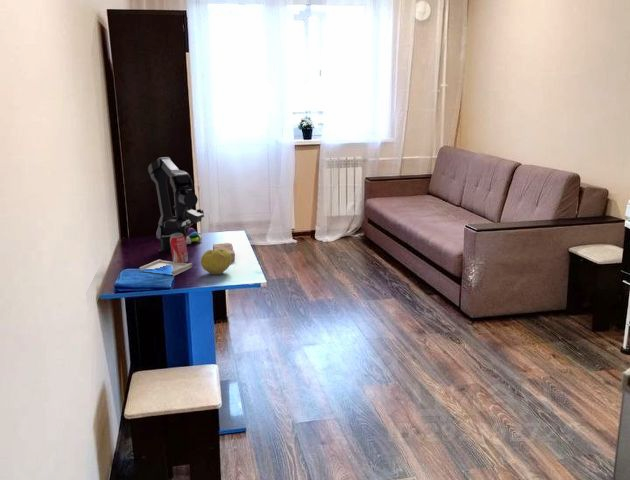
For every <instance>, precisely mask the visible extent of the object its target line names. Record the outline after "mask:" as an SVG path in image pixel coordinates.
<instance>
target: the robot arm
mask: <svg viewBox="0 0 630 480" xmlns="http://www.w3.org/2000/svg"><path fill="white" fill-rule="evenodd" d="M147 170H148V171H147V172H148V173H149V176H150V179H151V181H153V182H154V184H155V189H156V194H157V199H158V206H159V212H160V213H159V214H160V217H159V219H158V220H159V221H158V223H157V224H158V226H157V230H156V233H155V235H156V239H158V240H159V244H160V245H159V247H160V248H159V250H157V251H158V252H159V253H166V254H172V251H171V245H170V237H171V235H172V234H174V233H183V235H184V236H185V239H186V238H187V234H188V230H189V228H191V226H193V225H194V224H197V223H200V222H202V219H203V218H205V215H204V214H205V213H204V209H202V208H197V209H193V208H194V207H195V206H196V205H197V204H198V200H199V199H198V196H197V194H196V193H194V192H193V190H194V189H195V188H194V187H195V185H194V181H193V180H192V178H191V176H190V174H189V173H188V172H186V171H185V170H181V169H179V167H177V165H176V164H175V163H174V162H173V161H172V159H171V157H169V156H163V157H158V158H157V159H156V160H154V161H152V162H150V164H149V165H148V168H147ZM168 179H169V184H170V185H171V188H172V192H173V199H174V200H173V201H174V206H172V207H171V201H170V197H169V196H170V195H169V190H168V183H167V182H168ZM172 210H174V212H175V216H174V215H173V213H172Z"/></svg>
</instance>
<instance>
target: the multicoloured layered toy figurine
mask: <svg viewBox="0 0 630 480" xmlns="http://www.w3.org/2000/svg"><path fill="white" fill-rule="evenodd" d="M202 241H203V237H202V235H201V234H198V232H197V231H196V229H194V228H193V227H189V230H188V234H187V238H186V245H188V244H190V245H191V244H192V242H196V243H198V242H199V243H201V242H202Z"/></svg>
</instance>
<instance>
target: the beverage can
mask: <svg viewBox="0 0 630 480" xmlns="http://www.w3.org/2000/svg"><path fill="white" fill-rule="evenodd" d="M170 245H171V251H172V253H171V257H172V262H178V263H187V262H188V261H189V256H188V248H187V244H186V239H185V236H184V235H183V233H174V234H172V235H171V237H170Z"/></svg>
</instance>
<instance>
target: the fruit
mask: <svg viewBox="0 0 630 480" xmlns="http://www.w3.org/2000/svg"><path fill="white" fill-rule="evenodd" d="M231 259H232V258H231V255H230V253H229V252H228V251H226V250H224V249H216V250H214V251H213V249H208V250H206V251H205V252H204V253H203V255H201V259H200V264H201V265H200V266H201V268H202V269H203V270H204V271H206V272H207V273H209V274H211V275H213V276H214V275H215V276H216V275H217V276H219V275H221V274H223V273H224V272H225V271H226V270H228V268H229V267H230V266H231V264H232V263H231Z"/></svg>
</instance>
